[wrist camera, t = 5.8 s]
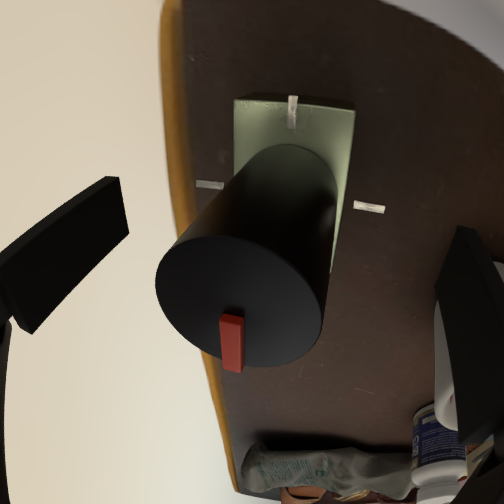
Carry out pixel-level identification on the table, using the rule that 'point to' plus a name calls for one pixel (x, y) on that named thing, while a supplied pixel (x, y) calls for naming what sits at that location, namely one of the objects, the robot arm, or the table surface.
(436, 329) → the cup
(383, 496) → the rock
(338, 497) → the decorative stone
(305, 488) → the sunglasses case
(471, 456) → the block
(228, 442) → the table surface
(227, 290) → the dial
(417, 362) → the table surface
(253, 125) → the program panel
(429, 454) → the pill bottle
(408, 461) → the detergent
